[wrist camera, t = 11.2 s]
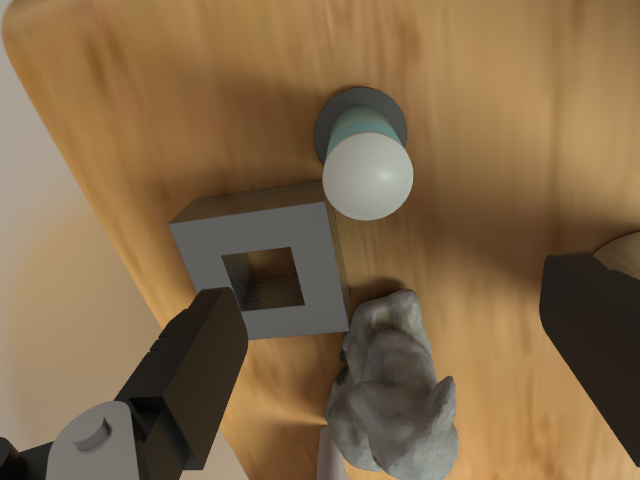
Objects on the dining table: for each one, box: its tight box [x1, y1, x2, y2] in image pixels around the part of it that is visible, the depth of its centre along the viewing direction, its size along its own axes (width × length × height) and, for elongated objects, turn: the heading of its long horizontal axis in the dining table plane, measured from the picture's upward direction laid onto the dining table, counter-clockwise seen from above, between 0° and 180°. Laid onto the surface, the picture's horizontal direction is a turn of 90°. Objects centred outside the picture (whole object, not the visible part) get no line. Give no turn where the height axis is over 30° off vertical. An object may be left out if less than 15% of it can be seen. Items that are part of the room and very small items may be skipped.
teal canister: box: [323, 105, 413, 221], centre depth 22 cm, size 5×5×10 cm
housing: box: [168, 180, 349, 340], centre depth 31 cm, size 12×12×5 cm
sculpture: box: [324, 289, 459, 480], centre depth 32 cm, size 11×21×15 cm, turn 3°
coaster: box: [314, 87, 407, 165], centre depth 27 cm, size 7×7×1 cm
